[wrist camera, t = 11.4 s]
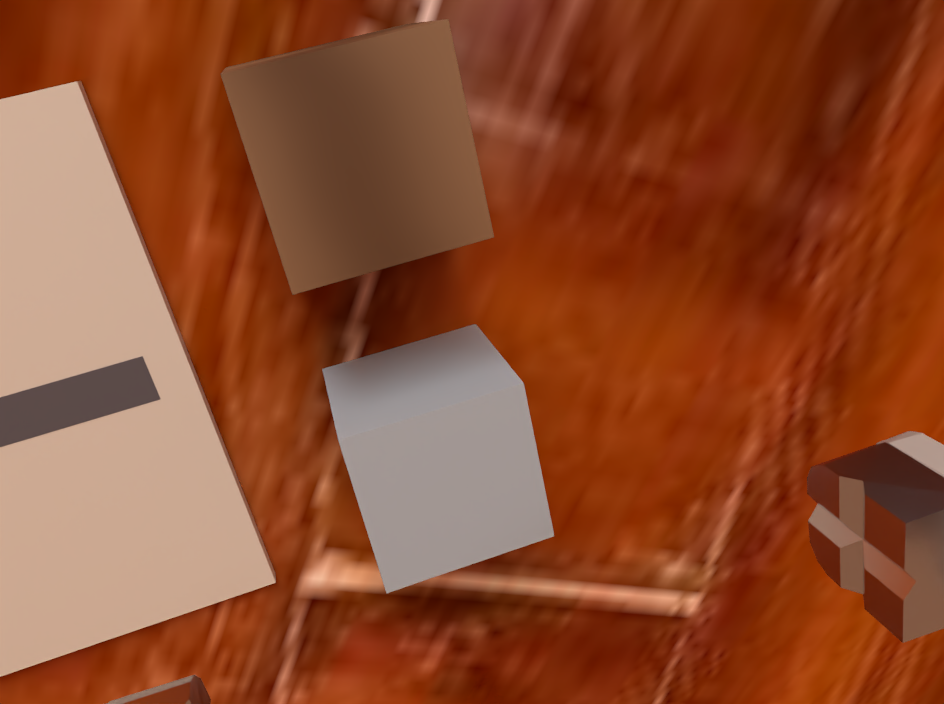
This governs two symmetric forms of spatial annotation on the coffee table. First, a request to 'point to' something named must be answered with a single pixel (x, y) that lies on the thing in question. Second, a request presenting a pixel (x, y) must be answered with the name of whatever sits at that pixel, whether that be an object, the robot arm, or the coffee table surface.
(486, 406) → the grey cube
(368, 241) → the walnut block
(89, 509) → the letter card
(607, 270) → the coffee table surface
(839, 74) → the coffee table surface
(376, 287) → the coffee table surface
